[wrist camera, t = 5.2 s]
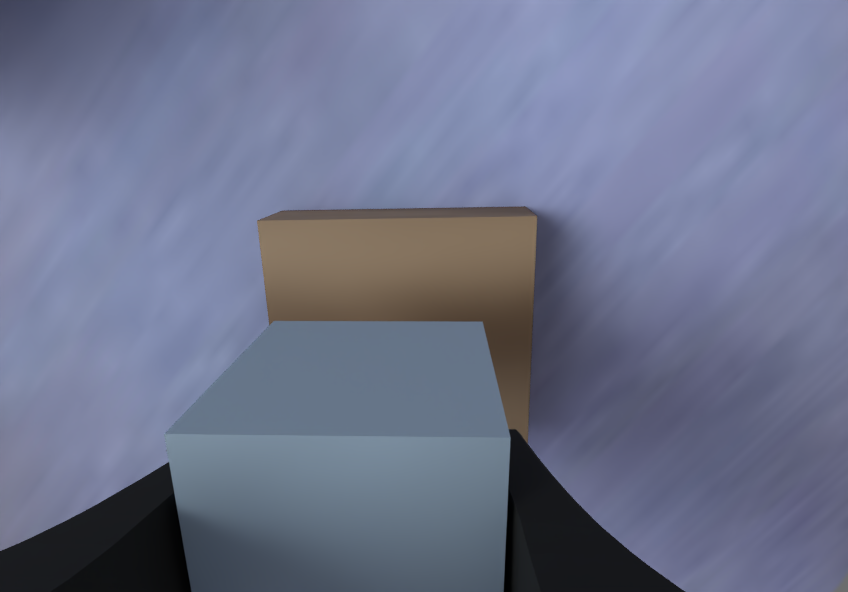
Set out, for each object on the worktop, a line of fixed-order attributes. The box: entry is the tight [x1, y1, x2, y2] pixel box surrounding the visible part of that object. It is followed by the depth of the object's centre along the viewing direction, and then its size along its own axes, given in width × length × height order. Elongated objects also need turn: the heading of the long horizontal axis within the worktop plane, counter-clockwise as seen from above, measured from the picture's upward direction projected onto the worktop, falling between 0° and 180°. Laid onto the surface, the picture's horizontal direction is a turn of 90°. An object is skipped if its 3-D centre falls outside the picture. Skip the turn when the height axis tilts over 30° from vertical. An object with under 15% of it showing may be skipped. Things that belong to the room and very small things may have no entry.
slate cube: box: [164, 321, 511, 592], centre depth 10 cm, size 5×5×5 cm
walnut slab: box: [257, 207, 537, 444], centre depth 19 cm, size 9×9×3 cm
